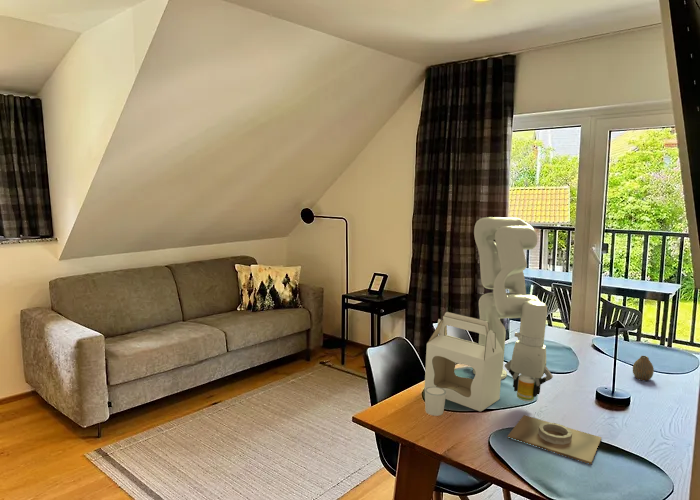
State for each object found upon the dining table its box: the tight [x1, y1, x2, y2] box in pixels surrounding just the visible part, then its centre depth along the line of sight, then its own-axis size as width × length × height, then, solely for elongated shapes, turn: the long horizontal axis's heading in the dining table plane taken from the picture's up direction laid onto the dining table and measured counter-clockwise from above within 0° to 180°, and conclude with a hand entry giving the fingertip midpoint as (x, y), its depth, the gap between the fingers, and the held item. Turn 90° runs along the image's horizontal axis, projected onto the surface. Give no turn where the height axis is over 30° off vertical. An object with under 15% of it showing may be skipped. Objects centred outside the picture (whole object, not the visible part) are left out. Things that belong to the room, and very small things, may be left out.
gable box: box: [424, 311, 503, 412], centre depth 168 cm, size 22×13×28 cm, turn 47°
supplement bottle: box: [516, 374, 536, 402], centre depth 161 cm, size 5×5×10 cm
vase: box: [632, 355, 655, 382], centre depth 189 cm, size 7×7×9 cm
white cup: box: [424, 387, 447, 417], centre depth 157 cm, size 7×7×7 cm
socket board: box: [507, 414, 603, 465], centre depth 143 cm, size 22×16×3 cm
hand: (525, 392), depth 161 cm, fingers closed on supplement bottle, 5 cm apart
